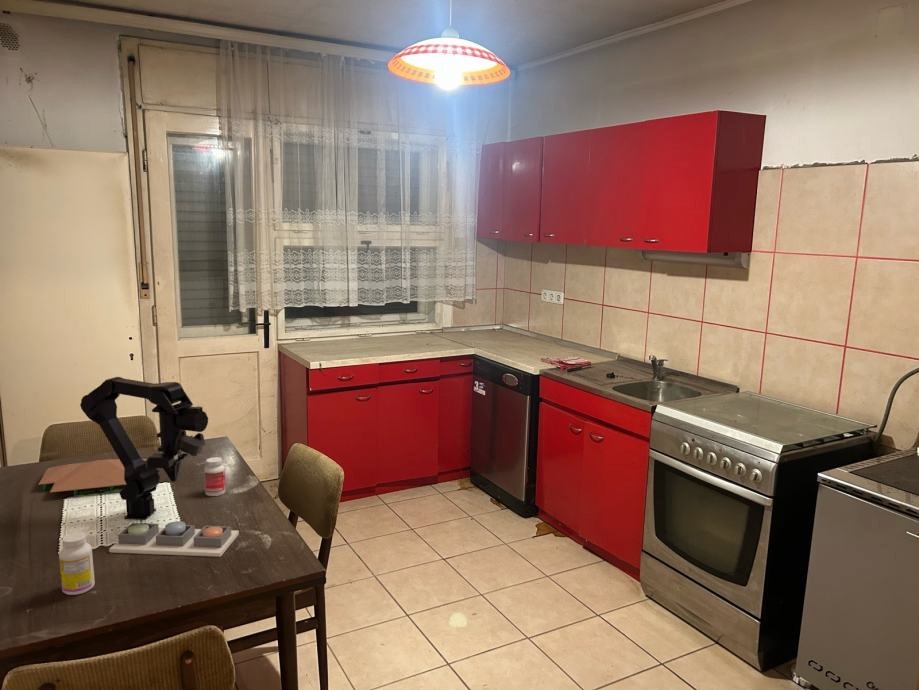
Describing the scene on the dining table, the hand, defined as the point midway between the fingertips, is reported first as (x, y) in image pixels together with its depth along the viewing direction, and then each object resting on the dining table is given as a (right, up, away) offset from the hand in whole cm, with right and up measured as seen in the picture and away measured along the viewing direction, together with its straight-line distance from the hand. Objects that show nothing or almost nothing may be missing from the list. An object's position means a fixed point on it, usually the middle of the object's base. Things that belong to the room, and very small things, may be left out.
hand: (173, 481), depth 192 cm
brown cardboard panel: (-36, -7, +29) cm, 47 cm away
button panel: (+5, -14, -11) cm, 19 cm away
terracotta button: (+15, -13, -12) cm, 23 cm away
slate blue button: (+5, -12, -11) cm, 17 cm away
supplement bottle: (-8, -18, -34) cm, 39 cm away
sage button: (-5, -13, -11) cm, 17 cm away
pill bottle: (+4, -8, +23) cm, 24 cm away
